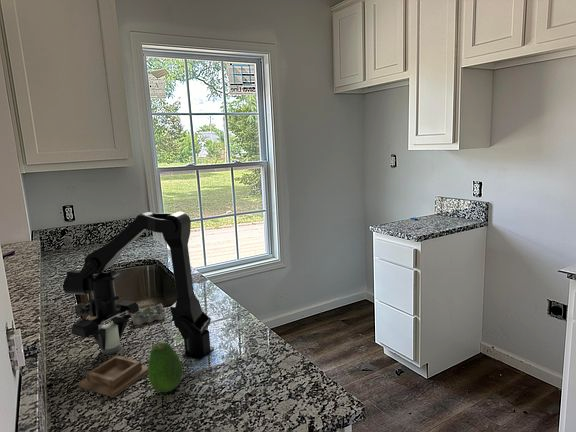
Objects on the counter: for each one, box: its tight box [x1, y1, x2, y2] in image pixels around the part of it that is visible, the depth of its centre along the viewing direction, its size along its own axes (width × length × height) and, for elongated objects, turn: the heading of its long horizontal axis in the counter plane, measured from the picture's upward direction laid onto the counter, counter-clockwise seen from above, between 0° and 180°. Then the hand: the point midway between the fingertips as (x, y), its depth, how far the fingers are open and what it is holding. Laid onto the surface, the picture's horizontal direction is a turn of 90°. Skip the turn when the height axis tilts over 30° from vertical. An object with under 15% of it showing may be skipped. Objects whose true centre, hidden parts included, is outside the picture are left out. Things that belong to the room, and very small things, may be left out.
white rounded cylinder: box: [100, 323, 122, 356], centre depth 113 cm, size 5×5×7 cm
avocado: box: [147, 342, 184, 393], centre depth 93 cm, size 8×8×12 cm
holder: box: [77, 355, 149, 398], centre depth 99 cm, size 12×12×3 cm
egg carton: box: [130, 302, 166, 326], centre depth 134 cm, size 11×8×4 cm
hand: (110, 345), depth 114 cm, fingers closed on white rounded cylinder, 5 cm apart
